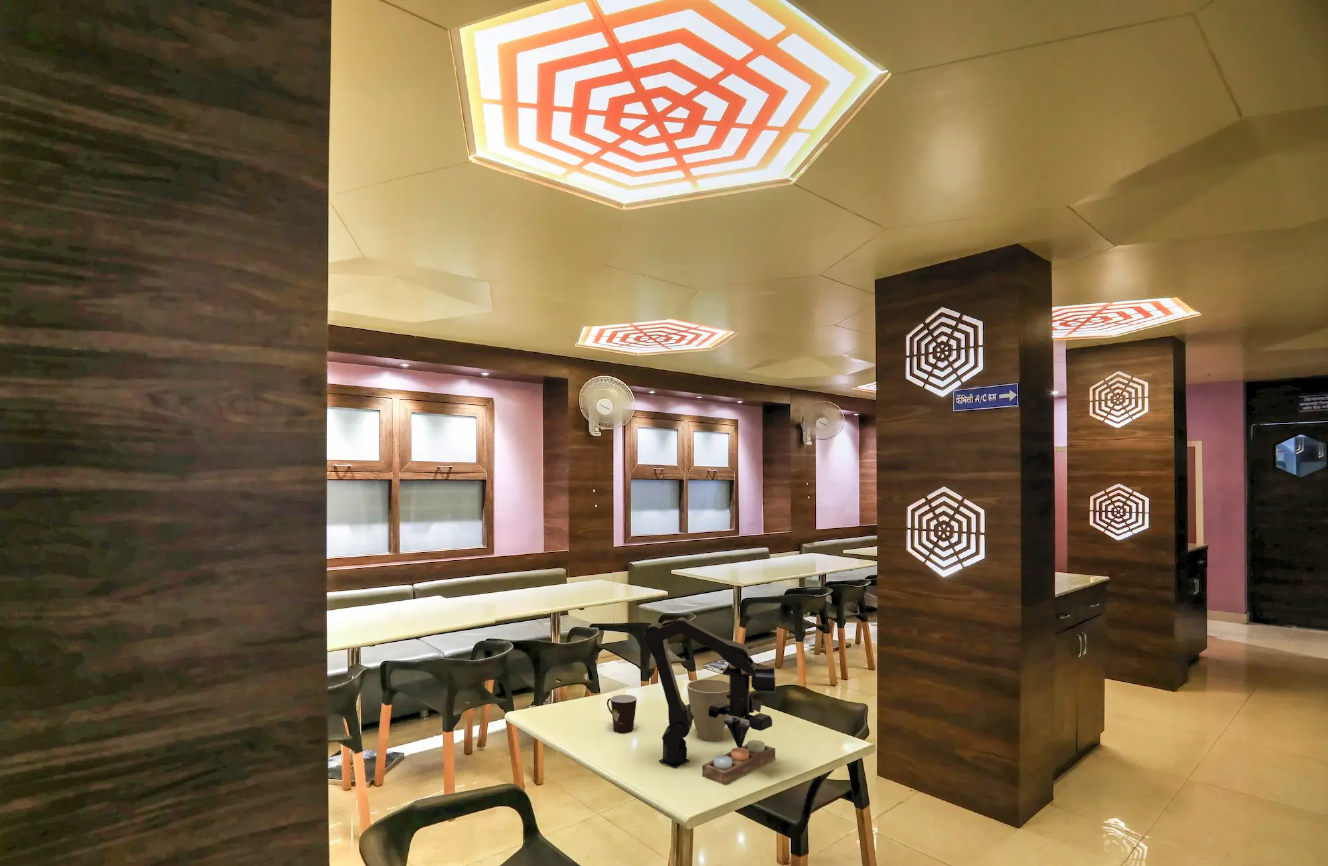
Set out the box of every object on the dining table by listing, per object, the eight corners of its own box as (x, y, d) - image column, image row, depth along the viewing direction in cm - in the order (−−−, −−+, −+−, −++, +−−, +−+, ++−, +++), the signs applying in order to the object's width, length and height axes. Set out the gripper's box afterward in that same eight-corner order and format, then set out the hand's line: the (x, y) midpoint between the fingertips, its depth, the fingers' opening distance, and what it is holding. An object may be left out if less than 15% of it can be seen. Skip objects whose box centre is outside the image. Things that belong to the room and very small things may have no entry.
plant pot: (678, 740, 206) (679, 687, 207) (698, 725, 219) (698, 676, 220) (722, 749, 199) (722, 694, 200) (740, 733, 212) (740, 682, 213)
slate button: (710, 770, 179) (709, 759, 179) (721, 765, 183) (721, 754, 183) (724, 775, 176) (724, 764, 176) (735, 770, 179) (735, 758, 180)
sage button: (744, 754, 191) (744, 743, 191) (753, 749, 195) (753, 738, 195) (758, 758, 188) (758, 747, 188) (768, 753, 191) (767, 743, 191)
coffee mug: (640, 732, 212) (640, 700, 213) (614, 736, 209) (615, 703, 210) (628, 721, 223) (629, 691, 224) (604, 724, 220) (604, 693, 221)
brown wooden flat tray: (702, 776, 179) (702, 765, 179) (752, 751, 197) (752, 741, 197) (725, 785, 174) (725, 773, 174) (775, 759, 191) (775, 748, 191)
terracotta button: (727, 762, 185) (727, 751, 185) (738, 757, 189) (737, 746, 189) (742, 767, 182) (741, 755, 182) (752, 761, 185) (752, 750, 186)
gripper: (782, 691, 187) (783, 748, 185) (729, 678, 199) (730, 731, 198) (760, 699, 179) (761, 759, 177) (707, 686, 191) (707, 741, 190)
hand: (739, 747), depth 186 cm, fingers closed
